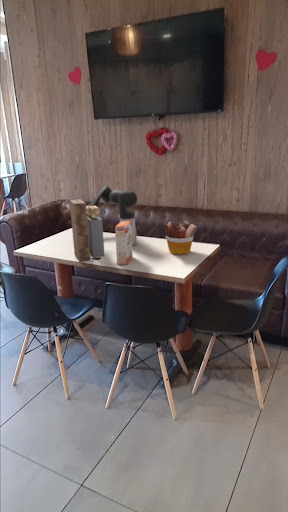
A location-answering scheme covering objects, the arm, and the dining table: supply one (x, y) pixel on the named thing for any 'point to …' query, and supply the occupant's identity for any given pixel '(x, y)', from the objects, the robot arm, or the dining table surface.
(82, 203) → the wooden block
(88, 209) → the tan wooden molding strip
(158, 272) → the dining table surface
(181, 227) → the bucket of meat
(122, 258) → the cracker box
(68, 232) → the dining table surface
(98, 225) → the step
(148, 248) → the dining table surface
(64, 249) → the dining table surface
